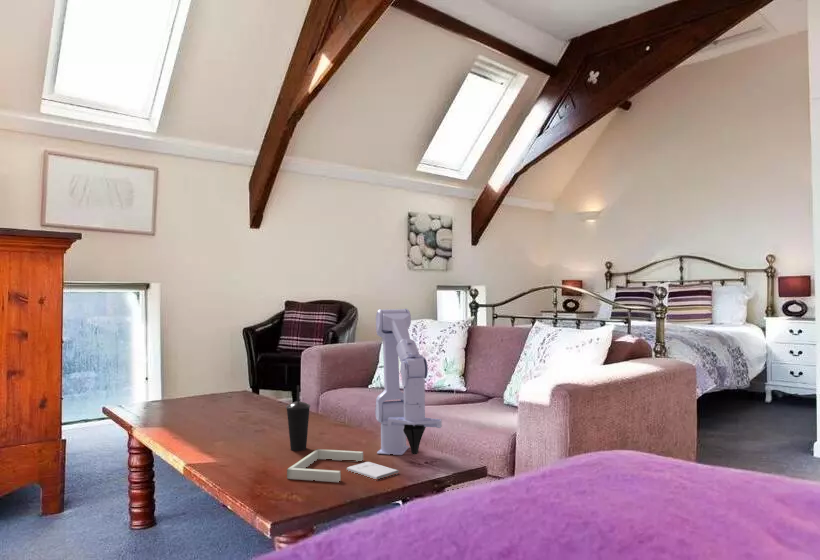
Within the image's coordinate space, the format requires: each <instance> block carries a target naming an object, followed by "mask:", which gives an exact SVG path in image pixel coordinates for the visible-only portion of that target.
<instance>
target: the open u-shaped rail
mask: <svg viewBox="0 0 820 560" xmlns="http://www.w3.org/2000/svg"><path fill="white" fill-rule="evenodd" d="M317 459H318V460H326V459H332V460H331V461H342V460H356V461H355V462H358V461H362V460H363V461H364V451H357V450H338V449H323V448H321V449H320V448H317V449H314V451H312V452H311V453H309V454H308V455H306V456H305V457H303V458H302V459H300V460H299V461H297V462H296V463H294V464H293V465H291V466H289V467H288V468H287V469H286V479H288V480H298V481H299V480H302V481H313V480H315V482H329V483H330V482H331V483H340V482H341V470H330V469H319V468H318V469H317V468H308V467H309V466H311V465H312V464H313V463H315V462H316V461H318V460H317ZM314 461H315V462H314ZM363 461H362V462H363ZM310 464H311V465H310ZM306 467H307V468H306ZM339 481H340V482H339Z"/></svg>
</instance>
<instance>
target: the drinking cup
mask: <svg viewBox="0 0 820 560" xmlns="http://www.w3.org/2000/svg"><path fill="white" fill-rule="evenodd" d="M310 408H311V404H310V403H307V402H305V401H300V385H299V384H297V385H296V401H294V402H291V403H288V404H287V405H285V409H286V414H287V424H288V435H289V446H290V450H291V451H293V452H301V451H305V450H307V445H308V432H309V431H308V430H309V419H310Z"/></svg>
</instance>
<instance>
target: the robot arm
mask: <svg viewBox="0 0 820 560" xmlns="http://www.w3.org/2000/svg"><path fill="white" fill-rule="evenodd" d="M375 314H376V315H375V330H376V332H375V333H376V335H377V336H378V337H379V338H381V339H382V340H381V341H382V351H383V384H384V390H383V391H382V392H381V393H380V394H378V395H377V396H376V398H375V409H374V410H375V411H374V415H375V418H376V421H377V422H378V423H380V449H379V450H377V451H376V454H378V455H390V454H393V455H395V456H402V455H404V454H405V453H406V452H407V450H409V448H410V452H411V453H410V454H412V455H418V454H419V451H420V449H419V448H420V444H421V440H422V437H423V435H424V433H425V430H426V429H427V428H436V429H441V428H442V426H443V425H442V423H443V421H442V419H438V418H431V417H426V389H425V388H426V387H425V386H426V385H425V384H426V383H425V382H426V381H425V380H426V379H427V378H428V374H429V373H428V372H429V371H428V370H429V368H428V362H427V358H426V357H425V356H423V355H421V354H420V351H419V349H418V346H417V343H416V341H415V340H413V339H411V337H410V332H409V330H410V326H411V323H412V317H411V316H412V315H411V312H410V310H409V309H408V308H403V309H402V308H399V309H398V308H396V309H395V308H394V309H389V308H387V309H381V308H379V309H378V310H377V311H376V313H375ZM399 361H400V362H399ZM399 364H400V365H399ZM400 377H401V385H402V386H403V391H402V390H400ZM407 441H408V444H409V445H407Z"/></svg>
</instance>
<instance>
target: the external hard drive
mask: <svg viewBox="0 0 820 560" xmlns="http://www.w3.org/2000/svg"><path fill="white" fill-rule="evenodd" d="M347 470H348V471H347ZM346 471H347V472H349V471H351V472H350V473H352V472H354V473H353V474H355V473H358V474H361V475H364V476H367V477H370V478H373V479H380V478H383V477H386V476H389V475H392V474H394V473H398V472H399V473H400V470H398V469H395V468H393V467H392V468H391V467H387V466H385V465H381V464H377V463H375V462H371V461H365V462H360V463H357V464H354V465H350V466H348V467H346ZM358 474H357V475H358ZM361 475H360V476H361ZM364 476H363V477H364ZM367 477H366V478H367ZM370 478H369V479H370ZM373 479H372V480H373ZM383 479H384V478H383ZM380 480H381V479H380Z"/></svg>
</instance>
